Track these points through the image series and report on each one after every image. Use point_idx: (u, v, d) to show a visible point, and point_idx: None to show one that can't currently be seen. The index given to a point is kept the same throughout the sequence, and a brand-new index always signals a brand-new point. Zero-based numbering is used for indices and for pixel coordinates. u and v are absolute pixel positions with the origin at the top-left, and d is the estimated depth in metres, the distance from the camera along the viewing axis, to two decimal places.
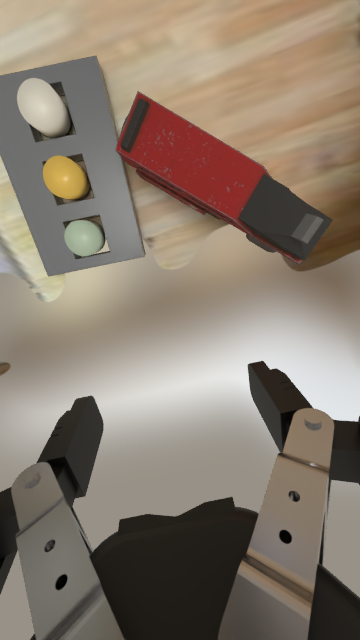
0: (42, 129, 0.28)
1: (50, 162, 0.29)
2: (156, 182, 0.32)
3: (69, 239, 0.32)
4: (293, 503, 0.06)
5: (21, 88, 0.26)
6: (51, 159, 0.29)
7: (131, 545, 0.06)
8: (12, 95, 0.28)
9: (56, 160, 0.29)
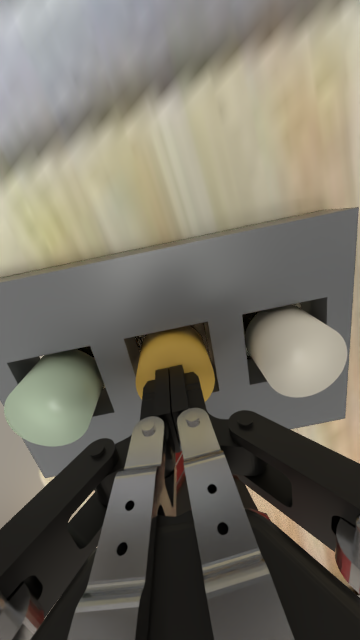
0: (264, 360, 0.13)
1: (203, 363, 0.14)
2: None
3: (39, 391, 0.13)
4: (213, 495, 0.06)
5: (335, 336, 0.13)
6: (208, 367, 0.14)
7: None
8: (321, 286, 0.14)
9: (206, 375, 0.14)
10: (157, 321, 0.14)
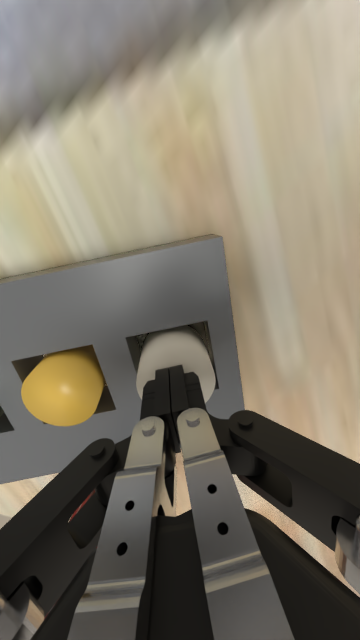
0: None
1: (83, 380, 0.15)
2: None
3: None
4: (214, 496, 0.06)
5: (200, 358, 0.13)
6: (88, 383, 0.15)
7: None
8: (199, 310, 0.15)
9: (88, 390, 0.15)
10: (41, 344, 0.15)
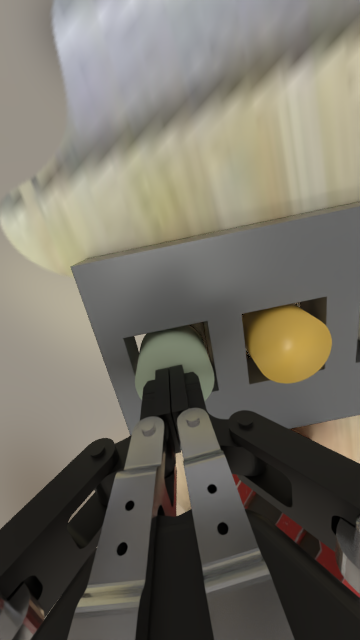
0: None
1: (324, 332, 0.14)
2: None
3: (172, 357, 0.13)
4: (213, 495, 0.06)
5: None
6: (327, 335, 0.14)
7: None
8: None
9: (324, 344, 0.14)
10: (277, 295, 0.14)
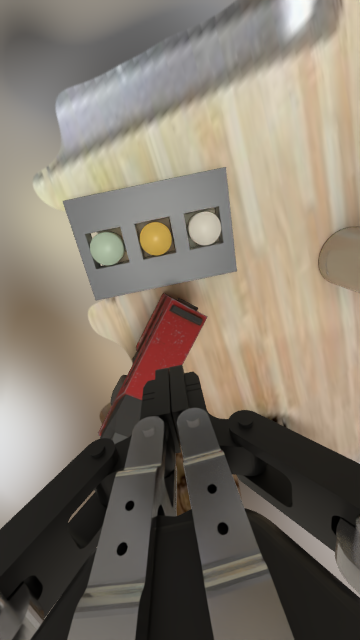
0: (189, 227, 0.35)
1: (166, 230, 0.34)
2: (157, 311, 0.39)
3: (104, 237, 0.34)
4: (213, 495, 0.06)
5: (215, 217, 0.34)
6: (168, 232, 0.35)
7: None
8: (215, 201, 0.35)
9: (168, 236, 0.35)
10: (148, 215, 0.35)
